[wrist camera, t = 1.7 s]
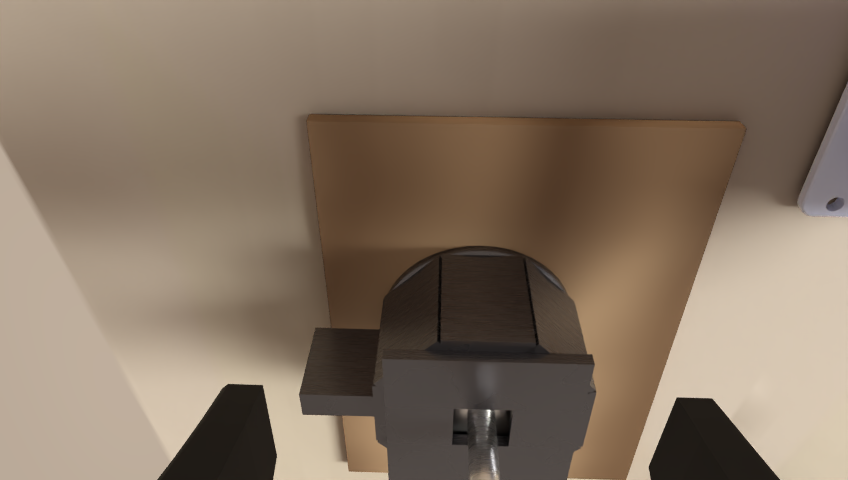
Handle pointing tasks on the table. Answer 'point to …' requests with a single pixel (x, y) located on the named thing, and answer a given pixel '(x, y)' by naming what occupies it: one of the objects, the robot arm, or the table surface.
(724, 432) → the robot arm
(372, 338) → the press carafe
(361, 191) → the walnut board
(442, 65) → the table surface
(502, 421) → the plunger
